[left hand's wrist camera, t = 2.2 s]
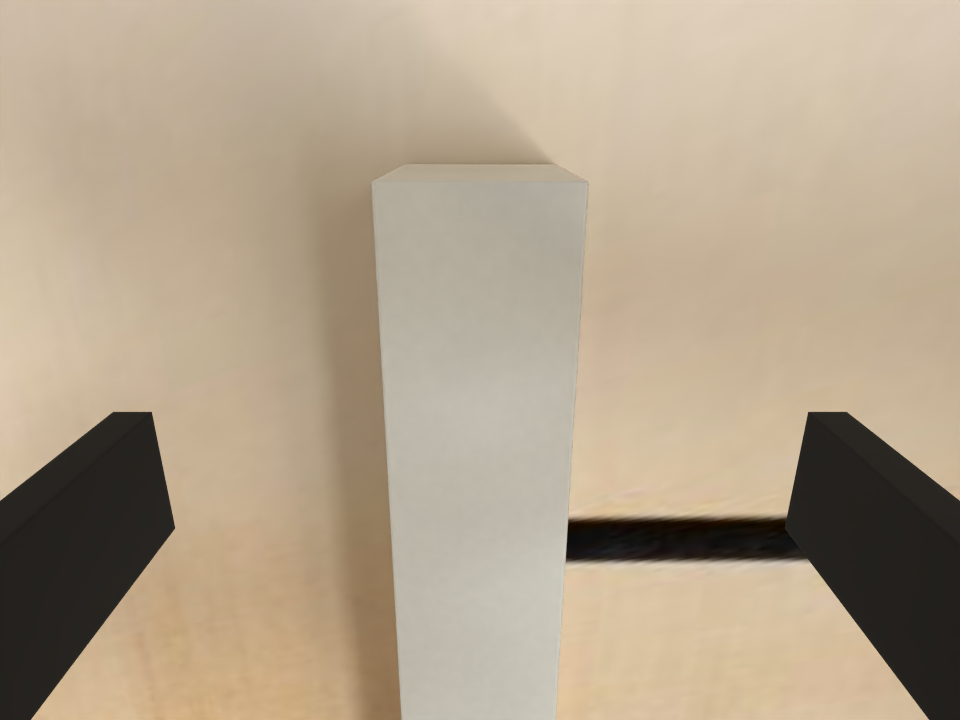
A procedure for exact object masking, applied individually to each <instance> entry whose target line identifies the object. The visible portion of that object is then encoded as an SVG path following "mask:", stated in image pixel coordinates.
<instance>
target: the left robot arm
mask: <svg viewBox="0 0 960 720" xmlns="http://www.w3.org/2000/svg"><path fill="white" fill-rule="evenodd" d="M174 529H175V525H174V520H173V515H172V510H171V505H170V500H169V495H168V490H167V485H166V481H165V476H164V471H163V466H162V461H161V456H160V451H159V446H158V441H157V436H156V431H155V426H154V421H153V416H152V412H113V413H111V414H110V415H109V416H108V417H106V418H105V419H104V420H103V421H101V422H100V423H99V424H97V425H96V426H95V427H94V428H92V429H91V430H90V431H89V432H87V433H86V434H85V435H83V436H82V437H81V438H80V439H78V440H77V441H76V442H75V443H73V444H72V445H71V446H69V447H68V448H67V449H66V450H64V451H63V452H62V453H61V454H59V455H58V456H57V457H55V458H54V459H53V460H52V461H50V462H49V463H48V464H47V465H45V466H44V467H43V468H41V469H40V470H39V471H38V472H36V473H35V474H34V475H33V476H31V477H30V478H29V479H27V480H26V481H25V482H24V483H22V484H21V485H20V486H19V487H17V488H16V489H15V490H13V491H12V492H11V493H10V494H8V495H7V496H6V497H5V498H3V499H2V500H1V501H0V720H31V719H32V717H33V716H34V715H35V713H36V712H37V711H38V709H39V708H40V707H41V705H42V704H43V703H44V702H45V700H46V699H47V698H48V696H49V695H50V694H51V692H52V691H53V690H54V688H55V687H56V686H57V684H58V683H59V682H60V680H61V679H62V678H63V676H64V675H65V674H66V672H67V671H68V670H69V668H70V667H71V666H72V664H73V663H74V662H75V660H76V659H77V658H78V656H79V655H80V654H81V652H82V651H83V650H84V648H85V647H86V646H87V644H88V643H89V642H90V640H91V639H92V638H93V637H94V635H95V634H96V633H97V631H98V630H99V629H100V627H101V626H102V625H103V623H104V622H105V621H106V619H107V618H108V617H109V615H110V614H111V613H112V611H113V610H114V609H115V607H116V606H117V605H118V603H119V602H120V601H121V599H122V598H123V597H124V595H125V594H126V593H127V591H128V590H129V589H130V587H131V586H132V585H133V583H134V582H135V581H136V579H137V578H138V577H139V575H140V574H141V573H142V572H143V570H144V569H145V568H146V566H147V565H148V564H149V562H150V561H151V560H152V558H153V557H154V556H155V554H156V553H157V552H158V550H159V549H160V548H161V546H162V545H163V544H164V542H165V541H166V540H167V538H168V537H169V536H170V534H171V533H172V532H173V530H174ZM785 529H786V530H787V532H788V533H789V534H790V536H791V537H792V538H793V540H794V541H795V542H796V544H797V545H798V546H799V548H800V549H801V550H802V552H803V553H804V554H805V556H806V557H807V558H808V560H809V561H810V562H811V564H812V565H813V566H814V568H815V569H816V570H817V572H818V573H819V574H820V576H821V577H822V578H823V579H824V581H825V582H826V583H827V585H828V586H829V587H830V589H831V590H832V591H833V593H834V594H835V595H836V597H837V598H838V599H839V601H840V602H841V603H842V605H843V606H844V607H845V609H846V610H847V611H848V613H849V614H850V615H851V617H852V618H853V619H854V621H855V622H856V623H857V625H858V626H859V627H860V629H861V630H862V631H863V633H864V634H865V635H866V637H867V638H868V639H869V640H870V642H871V643H872V644H873V646H874V647H875V648H876V650H877V651H878V652H879V654H880V655H881V656H882V658H883V659H884V660H885V662H886V663H887V664H888V666H889V667H890V668H891V670H892V671H893V672H894V674H895V675H896V676H897V678H898V679H899V680H900V682H901V683H902V684H903V686H904V687H905V688H906V690H907V691H908V692H909V694H910V695H911V696H912V698H913V699H914V700H915V702H916V703H917V704H918V705H919V707H920V708H921V709H922V711H923V712H924V713H925V715H926V716H927V717H928V719H929V720H960V501H959V500H958V499H957V498H955V497H954V496H953V495H952V494H950V493H949V492H948V491H947V490H945V489H944V488H943V487H941V486H940V485H939V484H938V483H936V482H935V481H934V480H933V479H931V478H930V477H929V476H927V475H926V474H925V473H924V472H922V471H921V470H920V469H919V468H917V467H916V466H915V465H913V464H912V463H911V462H910V461H908V460H907V459H906V458H905V457H903V456H902V455H901V454H899V453H898V452H897V451H896V450H894V449H893V448H892V447H891V446H889V445H888V444H887V443H885V442H884V441H883V440H882V439H880V438H879V437H878V436H877V435H875V434H874V433H873V432H871V431H870V430H869V429H868V428H866V427H865V426H864V425H863V424H861V423H860V422H859V421H857V420H856V419H855V418H854V417H852V416H851V415H850V414H849V413H847V412H808V416H807V421H806V426H805V431H804V436H803V441H802V446H801V451H800V456H799V461H798V466H797V471H796V476H795V481H794V485H793V490H792V495H791V500H790V505H789V510H788V515H787V520H786V525H785Z"/></svg>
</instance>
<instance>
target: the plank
mask: <svg viewBox="0 0 960 720" xmlns="http://www.w3.org/2000/svg"><path fill="white" fill-rule="evenodd" d="M588 185H589V184H588V182H587V181H585V180H584V179H582V178H580V177H578V176H576V175H574V174H572V173H571V172H569V171H567V170H565V169H563V168H561V167H560V166H558V165H556V164H404V165H402V166H400V167H398V168H396V169H394V170H392V171H390V172H388V173H387V174H385V175H383V176H381V177H379V178H377V179H375V180H373V181H372V183H371V189H372V207H373V225H374V243H375V260H376V278H377V296H378V314H379V332H380V350H381V368H382V385H383V403H384V421H385V439H386V457H387V475H388V493H389V510H390V528H391V546H392V564H393V582H394V600H395V617H396V635H397V653H398V671H399V689H400V707H401V720H556V706H557V690H558V674H559V657H560V641H561V625H562V609H563V592H564V576H565V560H566V543H567V527H568V511H569V495H570V478H571V462H572V446H573V429H574V413H575V397H576V380H577V364H578V348H579V332H580V315H581V299H582V283H583V266H584V250H585V234H586V218H587V201H588Z"/></svg>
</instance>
